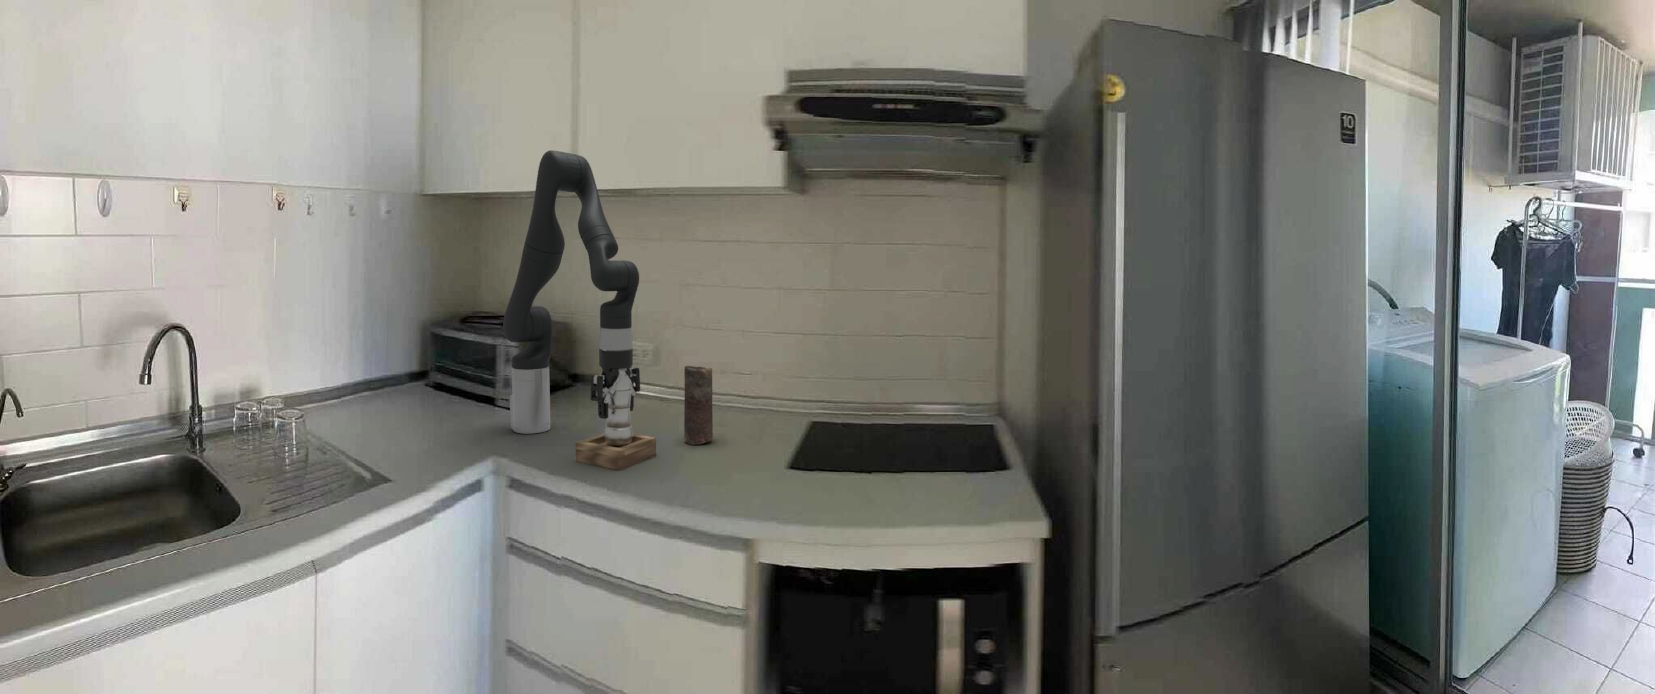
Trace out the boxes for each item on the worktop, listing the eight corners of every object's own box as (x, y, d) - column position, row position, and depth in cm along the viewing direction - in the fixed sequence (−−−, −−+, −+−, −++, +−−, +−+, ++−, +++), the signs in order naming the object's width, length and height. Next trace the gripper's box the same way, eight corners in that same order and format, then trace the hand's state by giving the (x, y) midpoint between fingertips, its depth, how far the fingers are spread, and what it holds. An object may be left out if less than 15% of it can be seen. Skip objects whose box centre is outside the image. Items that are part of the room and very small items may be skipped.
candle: (681, 438, 185) (681, 364, 182) (708, 436, 188) (709, 363, 185) (687, 446, 178) (688, 369, 175) (715, 444, 181) (716, 368, 178)
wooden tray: (575, 461, 163) (575, 442, 163) (614, 447, 175) (613, 430, 174) (619, 470, 158) (619, 451, 157) (656, 455, 170) (656, 437, 169)
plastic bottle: (625, 450, 163) (624, 365, 160) (598, 447, 164) (597, 363, 162) (638, 442, 169) (637, 361, 167) (612, 440, 171) (611, 359, 168)
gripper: (624, 341, 171) (624, 406, 173) (581, 348, 158) (582, 418, 160) (648, 344, 168) (648, 410, 170) (607, 351, 155) (607, 423, 157)
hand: (616, 414), depth 165 cm, fingers open, 8 cm apart
